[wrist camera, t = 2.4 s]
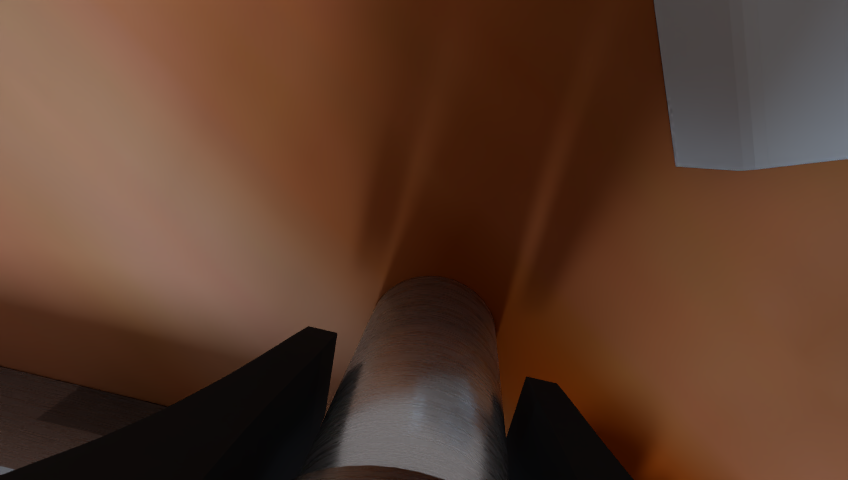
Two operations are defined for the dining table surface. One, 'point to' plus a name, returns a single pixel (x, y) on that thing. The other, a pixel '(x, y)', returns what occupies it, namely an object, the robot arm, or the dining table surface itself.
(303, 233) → the dining table surface
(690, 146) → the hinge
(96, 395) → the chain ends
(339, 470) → the steel pin
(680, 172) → the dining table surface
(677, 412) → the dining table surface
